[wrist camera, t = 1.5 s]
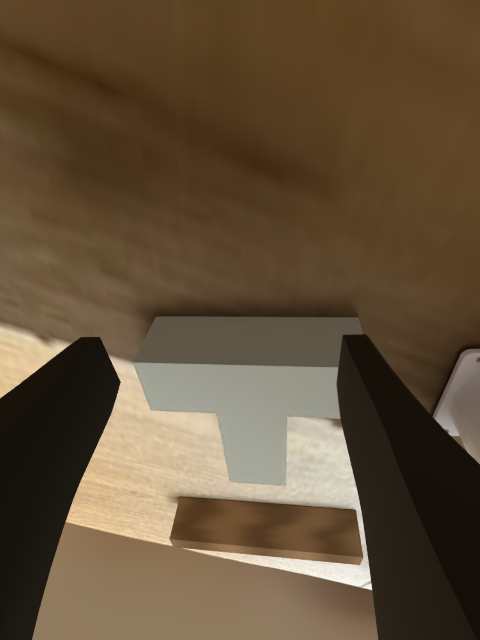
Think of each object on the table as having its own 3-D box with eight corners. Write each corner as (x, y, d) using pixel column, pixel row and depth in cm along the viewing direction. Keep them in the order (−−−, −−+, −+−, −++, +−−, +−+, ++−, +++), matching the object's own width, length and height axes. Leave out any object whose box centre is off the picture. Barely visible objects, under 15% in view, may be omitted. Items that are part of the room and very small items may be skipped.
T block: (358, 317, 19) (372, 368, 16) (337, 438, 26) (343, 489, 23) (155, 316, 21) (132, 362, 18) (188, 431, 28) (176, 478, 25)
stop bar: (355, 510, 33) (363, 557, 30) (353, 519, 35) (359, 565, 31) (179, 496, 36) (169, 539, 32) (183, 505, 37) (173, 547, 34)
